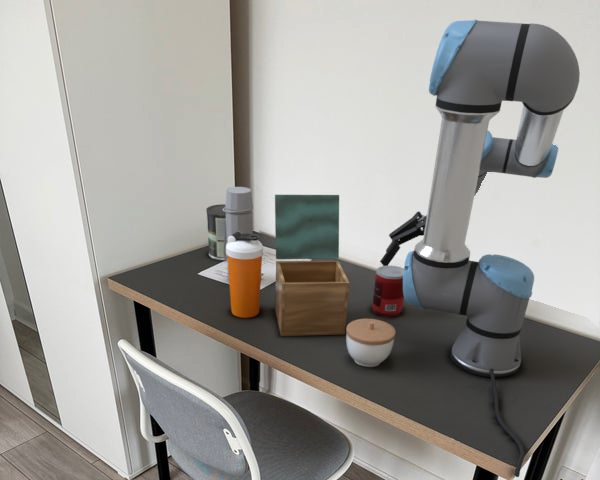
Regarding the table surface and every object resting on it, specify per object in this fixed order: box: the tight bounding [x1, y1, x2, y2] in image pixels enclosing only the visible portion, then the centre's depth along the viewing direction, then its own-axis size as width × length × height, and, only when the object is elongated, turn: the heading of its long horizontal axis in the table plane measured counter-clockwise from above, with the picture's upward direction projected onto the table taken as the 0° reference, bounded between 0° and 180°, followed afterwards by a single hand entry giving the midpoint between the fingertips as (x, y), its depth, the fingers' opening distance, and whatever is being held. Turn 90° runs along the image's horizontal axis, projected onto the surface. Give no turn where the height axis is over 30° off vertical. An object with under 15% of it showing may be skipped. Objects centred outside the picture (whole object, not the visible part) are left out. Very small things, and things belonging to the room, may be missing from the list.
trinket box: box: [345, 318, 397, 368], centre depth 129 cm, size 11×11×9 cm
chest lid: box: [274, 194, 340, 260], centre depth 143 cm, size 15×16×1 cm
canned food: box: [371, 265, 405, 317], centre depth 151 cm, size 8×8×11 cm
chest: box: [274, 260, 351, 337], centre depth 143 cm, size 14×16×13 cm
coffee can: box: [205, 203, 227, 261], centre depth 179 cm, size 10×10×14 cm
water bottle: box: [223, 186, 254, 281], centre depth 160 cm, size 9×8×25 cm
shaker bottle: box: [226, 231, 264, 319], centre depth 144 cm, size 9×9×20 cm
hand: (401, 273), depth 151 cm, fingers open, 13 cm apart
